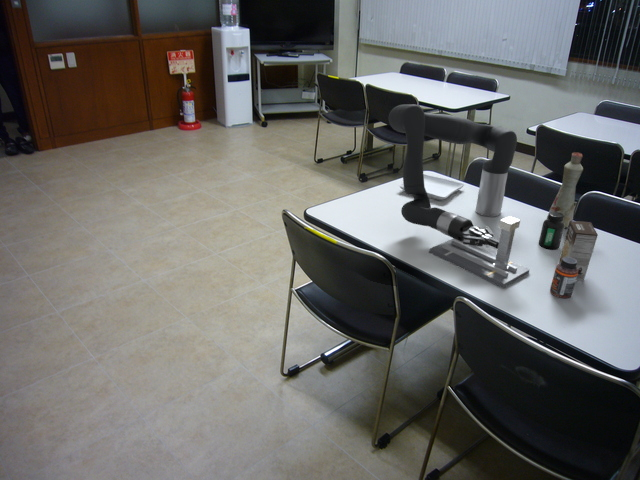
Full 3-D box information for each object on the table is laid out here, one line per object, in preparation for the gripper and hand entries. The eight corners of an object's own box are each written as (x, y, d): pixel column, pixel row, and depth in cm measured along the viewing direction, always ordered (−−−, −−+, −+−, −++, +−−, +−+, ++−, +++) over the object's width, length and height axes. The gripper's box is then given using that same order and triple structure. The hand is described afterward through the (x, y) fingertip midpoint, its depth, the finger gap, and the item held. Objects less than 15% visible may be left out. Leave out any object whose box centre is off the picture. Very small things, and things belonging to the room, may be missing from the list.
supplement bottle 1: (548, 252, 177) (556, 219, 171) (533, 243, 182) (541, 211, 177) (563, 248, 179) (572, 216, 174) (548, 240, 185) (556, 208, 179)
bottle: (564, 231, 191) (584, 157, 179) (541, 223, 197) (558, 151, 185) (575, 225, 197) (595, 153, 184) (552, 217, 203) (570, 147, 190)
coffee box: (557, 264, 169) (568, 219, 162) (578, 267, 168) (591, 221, 160) (562, 279, 161) (575, 232, 153) (585, 281, 160) (599, 234, 152)
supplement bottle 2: (545, 288, 156) (554, 254, 151) (565, 287, 156) (574, 254, 151) (555, 299, 150) (564, 265, 145) (575, 298, 151) (585, 264, 146)
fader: (499, 263, 165) (509, 215, 158) (510, 268, 162) (521, 220, 155) (490, 268, 162) (499, 219, 155) (501, 273, 160) (511, 224, 152)
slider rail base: (455, 241, 182) (456, 234, 181) (528, 273, 163) (530, 266, 162) (429, 252, 174) (430, 245, 173) (503, 288, 155) (504, 280, 154)
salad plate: (419, 179, 238) (420, 172, 236) (464, 190, 227) (465, 183, 226) (397, 193, 223) (398, 185, 221) (444, 205, 212) (445, 197, 210)
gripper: (442, 220, 166) (489, 240, 155) (468, 210, 174) (514, 228, 162) (439, 241, 170) (485, 262, 158) (464, 231, 177) (510, 250, 166)
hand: (500, 245), depth 160 cm, fingers closed
